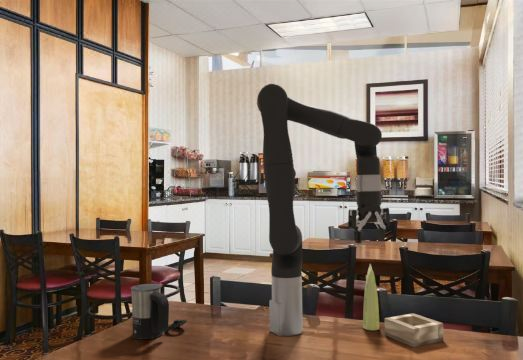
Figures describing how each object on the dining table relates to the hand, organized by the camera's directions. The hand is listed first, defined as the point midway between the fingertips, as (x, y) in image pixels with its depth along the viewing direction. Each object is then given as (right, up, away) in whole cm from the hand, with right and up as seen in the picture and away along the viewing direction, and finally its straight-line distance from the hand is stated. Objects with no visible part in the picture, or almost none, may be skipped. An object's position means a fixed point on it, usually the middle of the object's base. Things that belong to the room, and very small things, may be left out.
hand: (369, 242), depth 153 cm
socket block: (+11, -27, -9) cm, 30 cm away
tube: (+1, -27, 0) cm, 27 cm away
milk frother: (-65, -28, 0) cm, 71 cm away
